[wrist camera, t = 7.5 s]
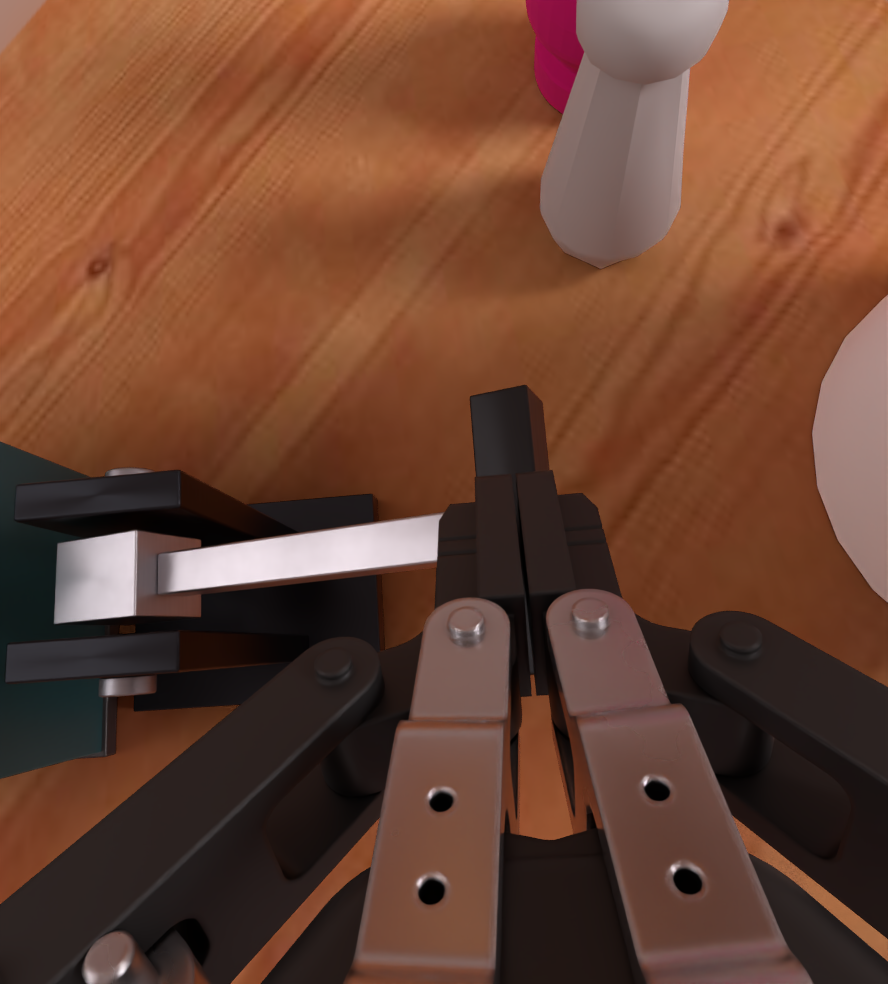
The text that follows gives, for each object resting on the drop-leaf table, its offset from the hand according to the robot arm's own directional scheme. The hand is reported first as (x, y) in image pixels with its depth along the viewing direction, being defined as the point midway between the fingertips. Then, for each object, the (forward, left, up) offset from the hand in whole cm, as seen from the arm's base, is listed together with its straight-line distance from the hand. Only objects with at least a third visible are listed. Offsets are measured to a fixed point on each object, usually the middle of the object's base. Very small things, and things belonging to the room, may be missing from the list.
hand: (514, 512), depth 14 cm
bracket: (-4, +10, -16) cm, 19 cm away
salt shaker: (+16, 0, -16) cm, 23 cm away
